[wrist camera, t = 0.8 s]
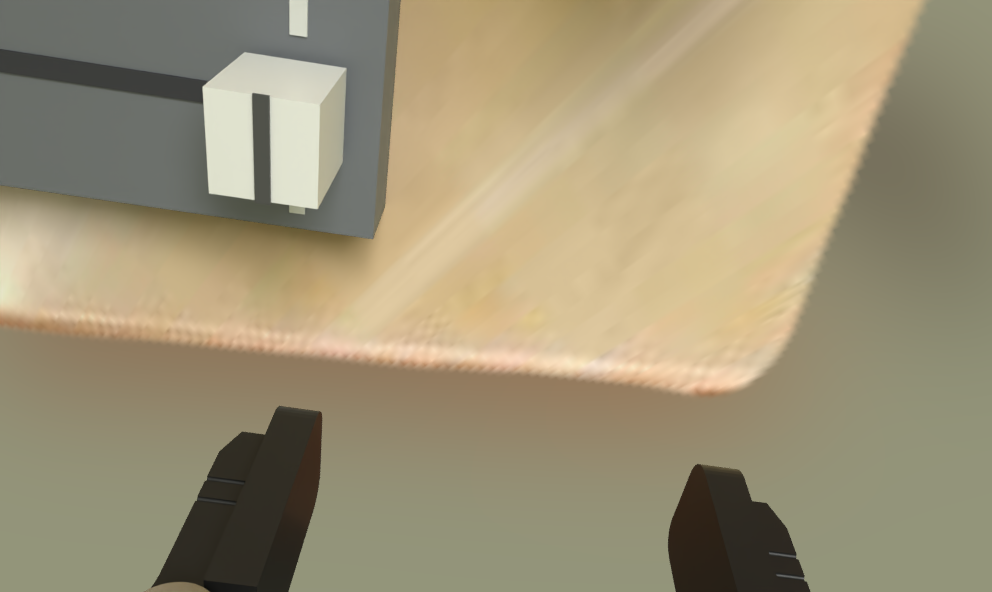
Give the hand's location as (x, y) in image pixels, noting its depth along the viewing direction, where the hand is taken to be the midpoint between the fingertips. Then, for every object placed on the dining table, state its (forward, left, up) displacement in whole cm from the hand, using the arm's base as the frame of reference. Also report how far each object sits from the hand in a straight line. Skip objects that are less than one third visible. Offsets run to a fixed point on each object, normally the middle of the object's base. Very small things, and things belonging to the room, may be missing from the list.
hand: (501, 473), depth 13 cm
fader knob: (0, -8, -16) cm, 18 cm away
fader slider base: (0, -15, -20) cm, 25 cm away
